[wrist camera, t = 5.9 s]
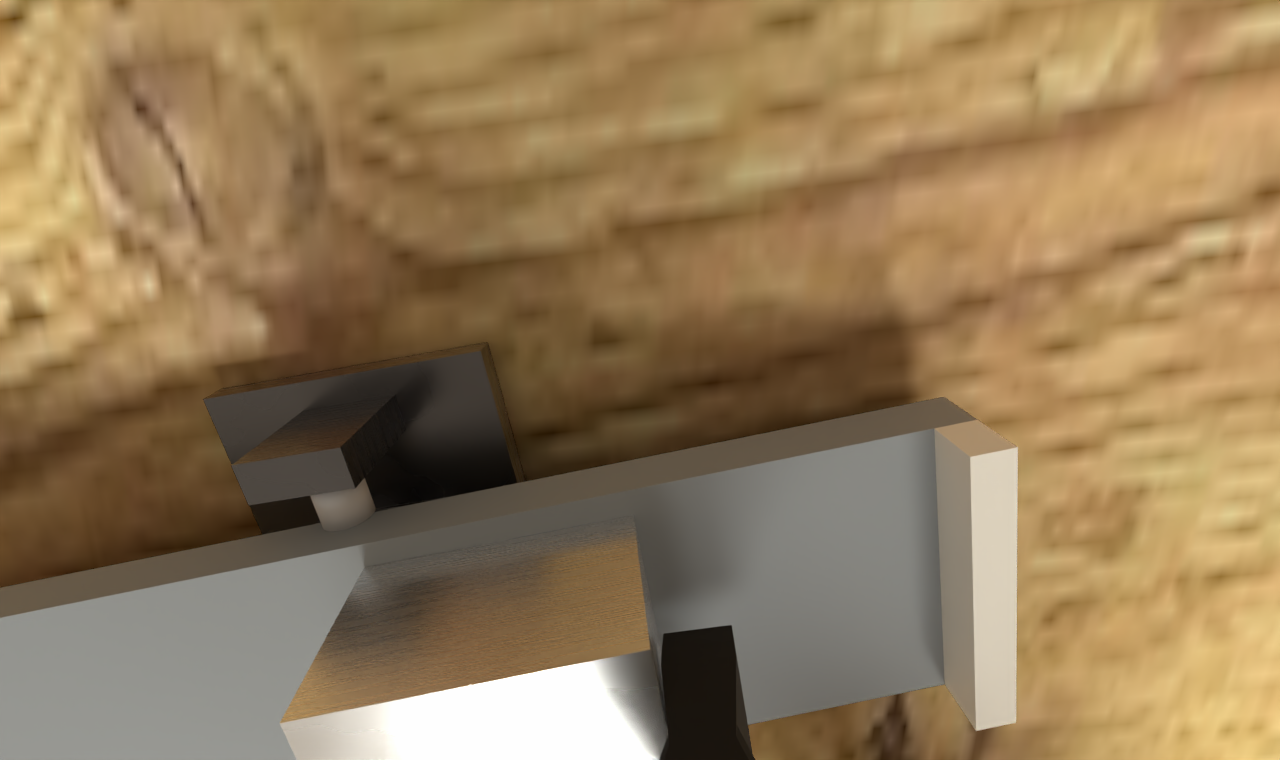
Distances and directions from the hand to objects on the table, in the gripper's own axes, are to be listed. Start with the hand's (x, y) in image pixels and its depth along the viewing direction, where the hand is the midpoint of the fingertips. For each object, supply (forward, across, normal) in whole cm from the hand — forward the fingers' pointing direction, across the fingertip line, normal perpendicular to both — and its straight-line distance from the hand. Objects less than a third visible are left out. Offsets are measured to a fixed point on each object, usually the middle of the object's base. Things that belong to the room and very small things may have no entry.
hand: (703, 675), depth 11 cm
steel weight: (+1, +3, 0) cm, 4 cm away
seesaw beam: (+2, +6, 0) cm, 7 cm away
